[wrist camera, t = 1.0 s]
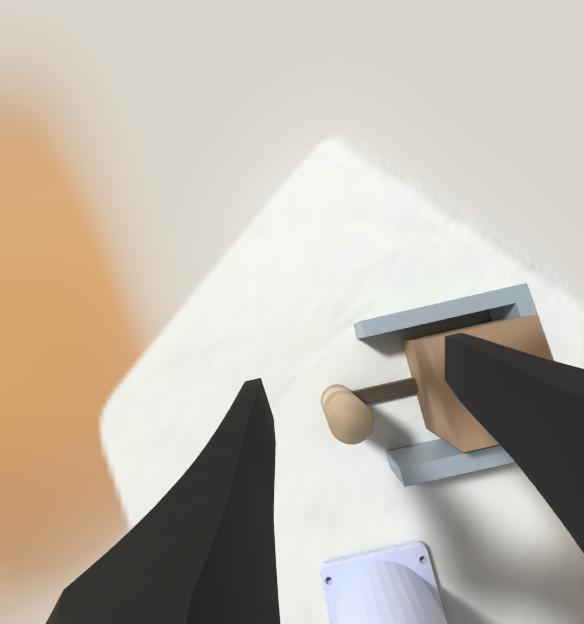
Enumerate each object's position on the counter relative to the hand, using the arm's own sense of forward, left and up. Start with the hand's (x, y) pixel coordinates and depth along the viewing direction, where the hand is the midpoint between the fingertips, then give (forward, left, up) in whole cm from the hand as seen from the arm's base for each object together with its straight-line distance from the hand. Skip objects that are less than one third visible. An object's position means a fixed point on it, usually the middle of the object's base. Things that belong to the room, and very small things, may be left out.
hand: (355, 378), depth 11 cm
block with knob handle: (-3, -6, -12) cm, 14 cm away
